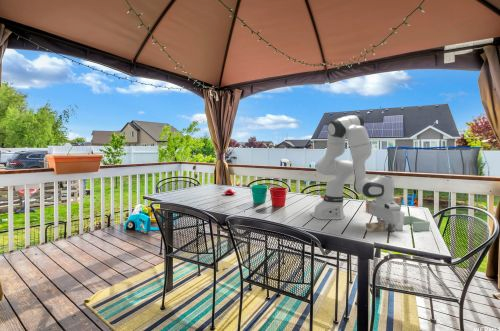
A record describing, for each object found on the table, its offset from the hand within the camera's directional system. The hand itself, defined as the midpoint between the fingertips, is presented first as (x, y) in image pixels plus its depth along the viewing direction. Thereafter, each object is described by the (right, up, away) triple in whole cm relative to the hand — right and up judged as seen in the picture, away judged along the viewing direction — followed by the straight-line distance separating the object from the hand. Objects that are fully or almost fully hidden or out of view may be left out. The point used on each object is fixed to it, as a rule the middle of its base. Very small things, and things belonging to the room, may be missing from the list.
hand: (382, 226), depth 141 cm
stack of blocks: (+19, +1, +35) cm, 40 cm away
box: (+20, -2, +5) cm, 20 cm away
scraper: (-4, -2, -1) cm, 4 cm away
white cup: (+9, -2, +2) cm, 9 cm away
